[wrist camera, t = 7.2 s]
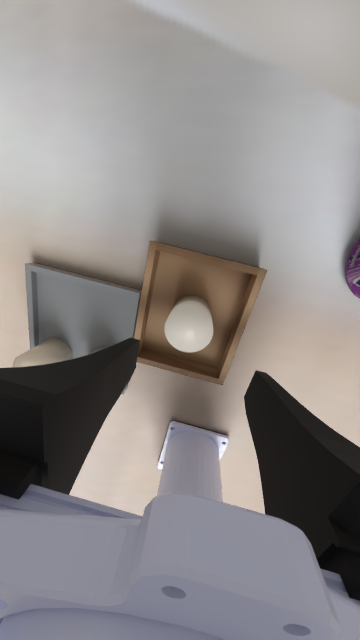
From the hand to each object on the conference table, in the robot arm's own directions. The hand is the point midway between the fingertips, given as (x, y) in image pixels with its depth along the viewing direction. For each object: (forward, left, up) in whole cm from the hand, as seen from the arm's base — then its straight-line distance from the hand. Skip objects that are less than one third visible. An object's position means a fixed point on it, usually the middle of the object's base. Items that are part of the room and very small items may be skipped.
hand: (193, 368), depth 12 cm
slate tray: (-5, +12, -9) cm, 16 cm away
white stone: (0, +1, -9) cm, 9 cm away
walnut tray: (0, +1, -9) cm, 9 cm away
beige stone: (-9, +15, -9) cm, 20 cm away
